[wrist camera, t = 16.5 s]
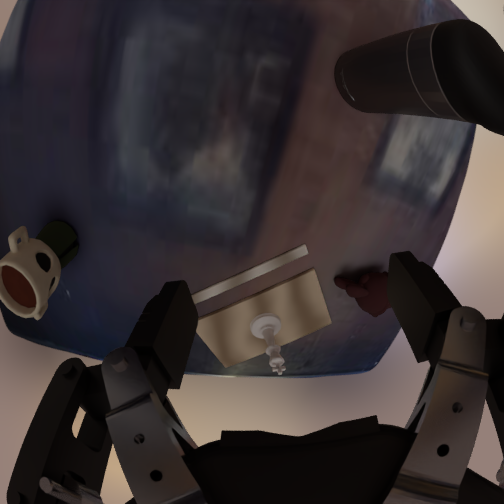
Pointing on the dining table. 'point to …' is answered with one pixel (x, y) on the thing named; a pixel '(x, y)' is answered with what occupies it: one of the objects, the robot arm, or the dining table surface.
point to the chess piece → (269, 337)
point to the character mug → (35, 268)
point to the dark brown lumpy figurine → (368, 291)
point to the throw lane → (263, 311)
